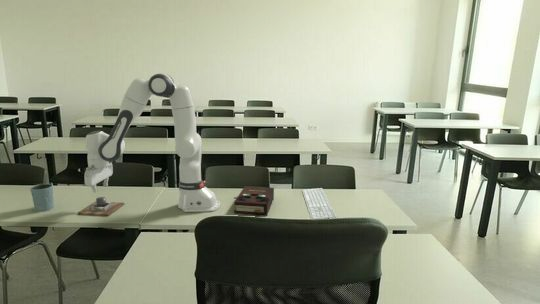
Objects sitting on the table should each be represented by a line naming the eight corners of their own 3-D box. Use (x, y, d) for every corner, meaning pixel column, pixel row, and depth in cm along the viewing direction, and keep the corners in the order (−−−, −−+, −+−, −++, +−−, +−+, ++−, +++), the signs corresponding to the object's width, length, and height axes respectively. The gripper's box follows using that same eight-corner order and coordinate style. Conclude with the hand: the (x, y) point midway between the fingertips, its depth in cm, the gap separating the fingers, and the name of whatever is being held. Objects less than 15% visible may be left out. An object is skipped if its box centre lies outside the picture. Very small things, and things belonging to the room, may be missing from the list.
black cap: (107, 206, 198) (107, 197, 197) (103, 209, 194) (102, 199, 193) (100, 205, 199) (99, 196, 197) (95, 208, 194) (94, 199, 193)
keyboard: (301, 191, 229) (301, 187, 229) (322, 191, 230) (322, 187, 229) (311, 221, 187) (311, 216, 186) (336, 221, 187) (336, 216, 186)
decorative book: (276, 185, 216) (268, 204, 187) (276, 197, 217) (268, 218, 189) (243, 183, 218) (230, 201, 189) (243, 195, 220) (231, 215, 191)
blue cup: (36, 213, 190) (33, 190, 187) (30, 208, 197) (27, 186, 194) (58, 208, 197) (55, 186, 194) (51, 203, 204) (48, 181, 201)
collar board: (124, 204, 203) (123, 200, 203) (108, 216, 188) (107, 211, 187) (96, 202, 205) (95, 198, 205) (78, 214, 190) (77, 209, 189)
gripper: (91, 168, 180) (95, 196, 183) (113, 158, 200) (116, 183, 203) (79, 168, 181) (82, 195, 184) (102, 157, 201) (105, 182, 204)
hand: (100, 189), depth 194 cm, fingers open, 8 cm apart
